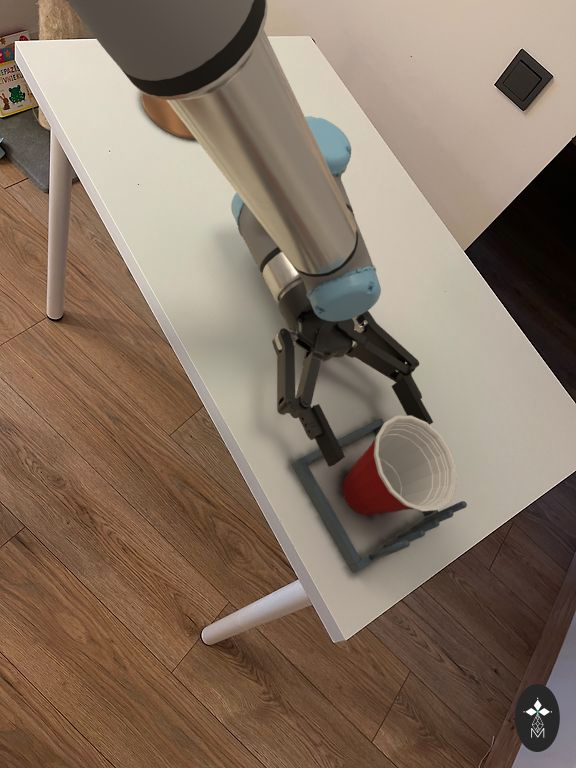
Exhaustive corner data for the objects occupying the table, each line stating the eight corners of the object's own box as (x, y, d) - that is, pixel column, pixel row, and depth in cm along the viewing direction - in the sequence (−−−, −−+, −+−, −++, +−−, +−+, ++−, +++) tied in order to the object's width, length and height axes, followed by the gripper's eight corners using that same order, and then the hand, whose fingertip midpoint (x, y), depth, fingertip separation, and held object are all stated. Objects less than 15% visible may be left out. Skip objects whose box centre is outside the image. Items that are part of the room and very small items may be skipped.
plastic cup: (406, 540, 73) (468, 515, 63) (326, 533, 69) (379, 505, 59) (397, 456, 78) (453, 421, 68) (322, 445, 74) (371, 406, 64)
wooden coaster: (166, 144, 86) (167, 141, 86) (127, 84, 89) (127, 80, 88) (233, 134, 93) (234, 131, 93) (195, 78, 95) (196, 75, 95)
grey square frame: (291, 464, 71) (325, 436, 64) (374, 423, 79) (413, 394, 71) (352, 572, 68) (395, 556, 60) (432, 518, 76) (479, 498, 68)
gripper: (364, 292, 83) (438, 426, 78) (206, 325, 71) (280, 489, 65) (393, 259, 77) (475, 402, 72) (225, 290, 64) (309, 467, 59)
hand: (383, 444), depth 68 cm, fingers open, 13 cm apart
